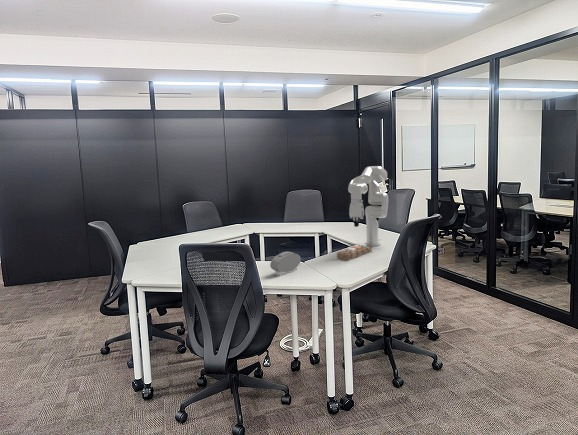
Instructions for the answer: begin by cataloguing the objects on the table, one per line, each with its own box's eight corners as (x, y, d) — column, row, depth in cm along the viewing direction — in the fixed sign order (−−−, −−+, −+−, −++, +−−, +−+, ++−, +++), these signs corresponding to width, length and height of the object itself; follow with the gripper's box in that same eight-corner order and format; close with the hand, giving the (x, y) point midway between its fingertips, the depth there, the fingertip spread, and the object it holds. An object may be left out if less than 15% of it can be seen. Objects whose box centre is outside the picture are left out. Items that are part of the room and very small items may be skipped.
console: (359, 250, 326) (359, 244, 325) (371, 251, 319) (371, 245, 319) (337, 258, 301) (336, 252, 301) (349, 260, 295) (349, 254, 294)
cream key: (350, 252, 310) (349, 247, 309) (356, 252, 306) (355, 248, 306) (346, 253, 306) (346, 248, 305) (352, 254, 303) (352, 249, 302)
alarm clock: (293, 267, 281) (293, 248, 279) (301, 268, 277) (300, 249, 275) (270, 275, 263) (269, 255, 262) (277, 276, 259) (277, 256, 258)
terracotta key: (355, 250, 316) (355, 245, 315) (361, 250, 313) (361, 246, 312) (352, 251, 312) (352, 246, 311) (358, 252, 309) (358, 247, 308)
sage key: (361, 248, 322) (360, 243, 321) (366, 248, 319) (366, 244, 318) (357, 249, 318) (357, 245, 318) (363, 249, 315) (363, 245, 314)
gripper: (368, 201, 305) (368, 226, 308) (350, 200, 315) (350, 225, 317) (362, 202, 300) (363, 228, 302) (344, 201, 309) (344, 226, 311)
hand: (356, 226), depth 310 cm, fingers closed
